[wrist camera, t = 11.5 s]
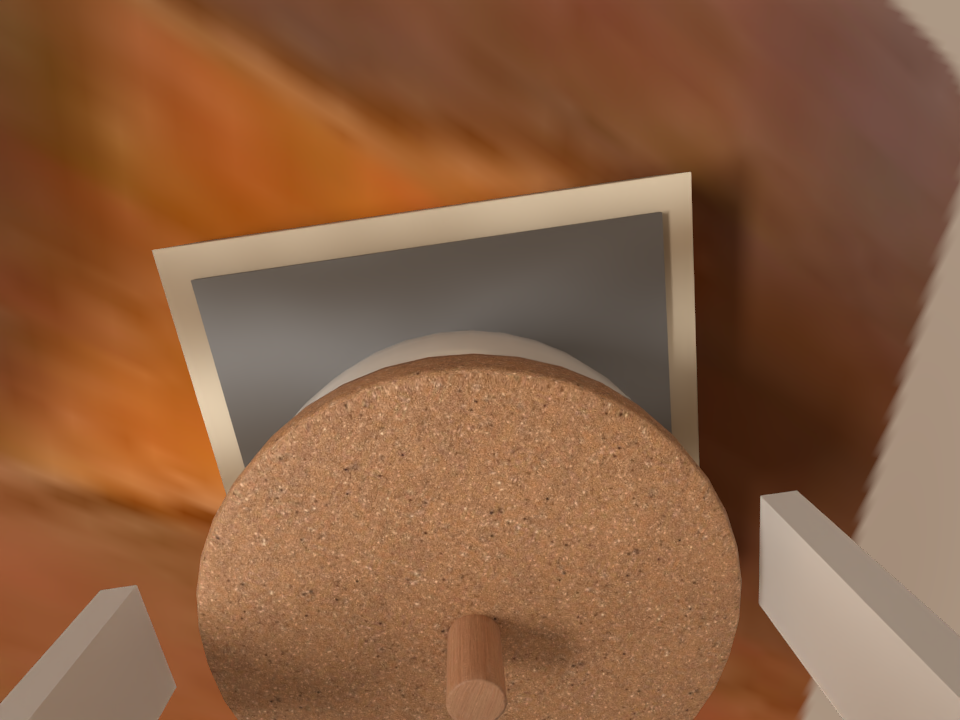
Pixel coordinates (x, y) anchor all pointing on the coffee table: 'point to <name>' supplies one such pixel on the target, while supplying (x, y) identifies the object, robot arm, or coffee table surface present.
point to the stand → (441, 299)
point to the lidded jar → (469, 549)
